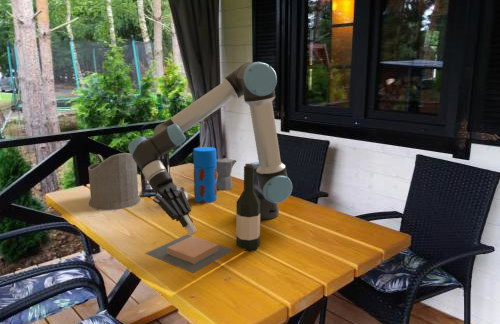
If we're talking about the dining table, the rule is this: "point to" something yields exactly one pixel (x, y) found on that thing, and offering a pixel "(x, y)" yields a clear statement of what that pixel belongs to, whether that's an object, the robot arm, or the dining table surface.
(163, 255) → the mat
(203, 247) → the tile
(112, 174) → the pitcher
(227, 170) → the coffeepot
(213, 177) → the thermos
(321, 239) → the dining table surface
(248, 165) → the wine bottle
